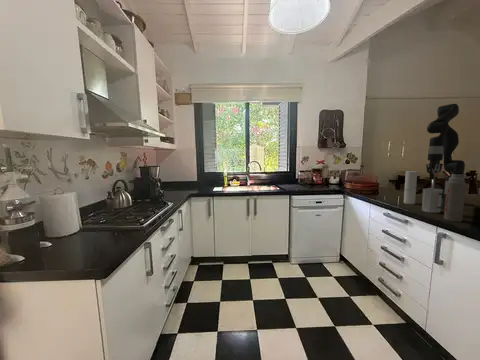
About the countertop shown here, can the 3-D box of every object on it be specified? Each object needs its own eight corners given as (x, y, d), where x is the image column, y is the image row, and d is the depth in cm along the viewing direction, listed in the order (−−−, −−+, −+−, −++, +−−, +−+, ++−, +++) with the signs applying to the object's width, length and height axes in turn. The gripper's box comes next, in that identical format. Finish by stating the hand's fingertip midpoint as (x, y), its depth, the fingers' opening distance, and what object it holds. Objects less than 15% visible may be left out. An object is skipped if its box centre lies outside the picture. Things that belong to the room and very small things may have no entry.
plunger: (429, 198, 156) (431, 172, 154) (438, 200, 151) (440, 172, 149) (424, 199, 154) (427, 172, 152) (433, 200, 149) (436, 173, 147)
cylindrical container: (416, 204, 175) (419, 171, 172) (406, 203, 176) (408, 171, 173) (411, 202, 181) (414, 171, 179) (401, 201, 183) (404, 171, 180)
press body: (427, 208, 160) (429, 187, 158) (448, 213, 148) (450, 190, 147) (418, 210, 156) (420, 188, 155) (439, 214, 145) (441, 191, 143)
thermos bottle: (444, 219, 134) (448, 172, 131) (443, 216, 140) (447, 171, 137) (463, 222, 129) (468, 173, 126) (461, 219, 135) (466, 172, 132)
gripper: (435, 153, 155) (433, 178, 157) (422, 153, 150) (420, 179, 152) (448, 153, 148) (446, 179, 150) (435, 153, 143) (433, 180, 145)
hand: (433, 179), depth 151 cm, fingers closed on plunger, 3 cm apart
